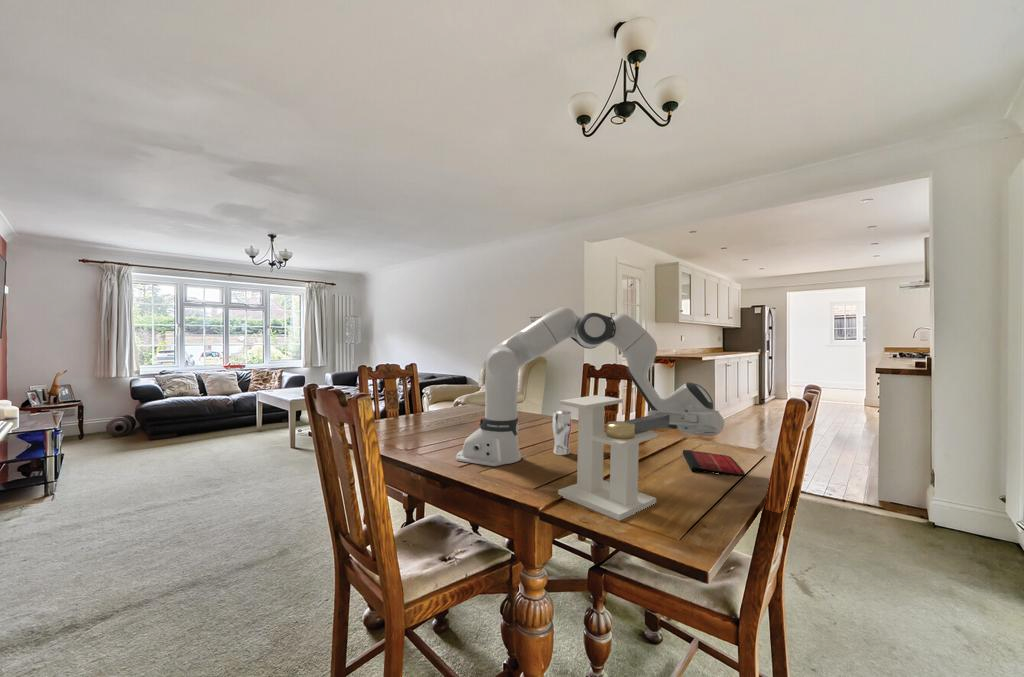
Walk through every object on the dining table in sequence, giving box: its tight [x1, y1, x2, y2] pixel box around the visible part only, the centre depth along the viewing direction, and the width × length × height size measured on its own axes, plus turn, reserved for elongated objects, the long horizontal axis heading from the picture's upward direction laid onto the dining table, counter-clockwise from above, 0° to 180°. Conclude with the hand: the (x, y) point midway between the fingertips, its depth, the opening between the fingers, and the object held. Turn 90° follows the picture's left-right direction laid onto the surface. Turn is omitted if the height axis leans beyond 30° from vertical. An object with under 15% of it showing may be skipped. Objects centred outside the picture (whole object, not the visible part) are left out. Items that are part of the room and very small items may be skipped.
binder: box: [682, 449, 745, 477], centre depth 147 cm, size 16×2×21 cm
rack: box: [557, 394, 659, 522], centre depth 116 cm, size 16×20×26 cm
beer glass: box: [552, 409, 573, 456], centre depth 158 cm, size 7×7×15 cm
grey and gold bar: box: [605, 413, 669, 439], centre depth 116 cm, size 24×7×3 cm, turn 131°
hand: (668, 416), depth 126 cm, fingers open, 8 cm apart
